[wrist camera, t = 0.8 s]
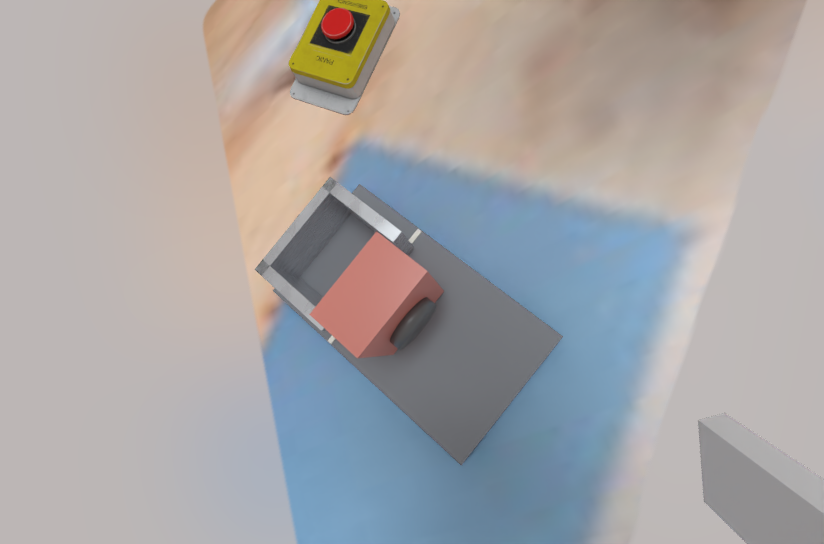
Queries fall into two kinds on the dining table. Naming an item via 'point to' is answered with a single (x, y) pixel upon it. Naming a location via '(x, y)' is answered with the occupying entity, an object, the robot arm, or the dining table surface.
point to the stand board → (443, 338)
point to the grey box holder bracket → (319, 243)
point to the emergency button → (340, 52)
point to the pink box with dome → (378, 301)
